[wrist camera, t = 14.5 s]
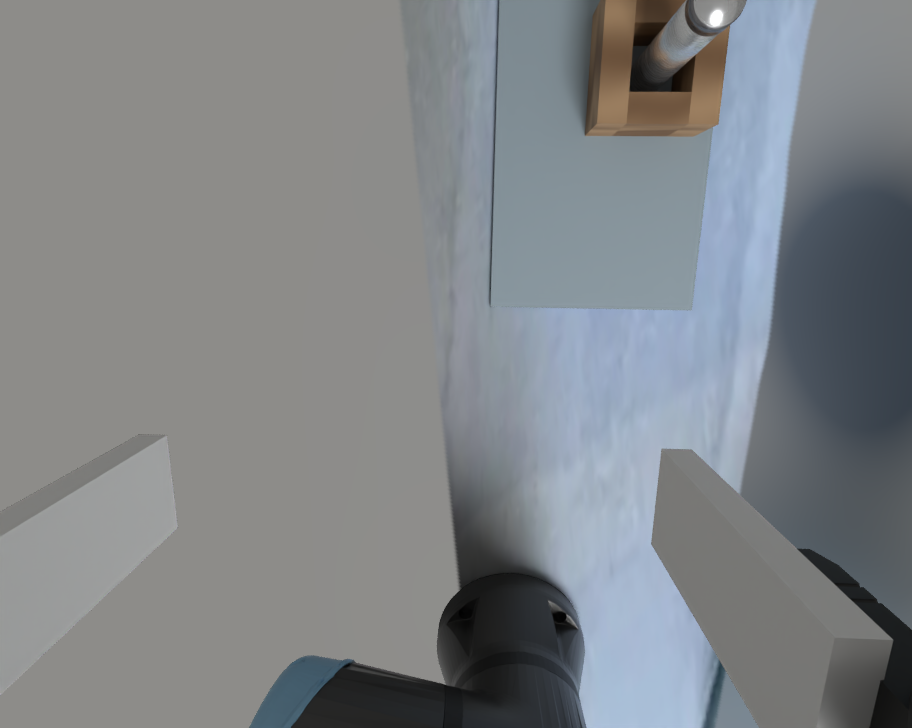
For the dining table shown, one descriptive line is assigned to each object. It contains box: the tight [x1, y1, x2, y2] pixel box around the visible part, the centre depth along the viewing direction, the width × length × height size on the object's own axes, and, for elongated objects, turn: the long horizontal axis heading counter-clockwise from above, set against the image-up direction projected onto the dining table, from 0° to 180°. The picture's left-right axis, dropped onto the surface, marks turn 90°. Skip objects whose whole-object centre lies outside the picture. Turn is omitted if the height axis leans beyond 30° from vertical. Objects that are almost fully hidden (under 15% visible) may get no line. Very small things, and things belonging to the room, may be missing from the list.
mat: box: [490, 0, 713, 310], centre depth 44 cm, size 26×18×1 cm
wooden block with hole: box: [585, 0, 730, 137], centre depth 40 cm, size 9×9×4 cm
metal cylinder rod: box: [629, 0, 747, 92], centre depth 35 cm, size 3×3×14 cm
